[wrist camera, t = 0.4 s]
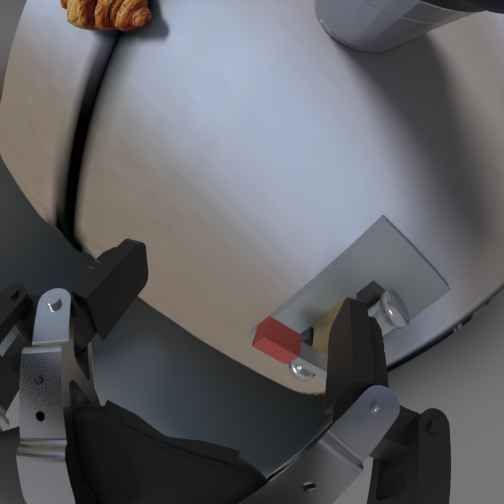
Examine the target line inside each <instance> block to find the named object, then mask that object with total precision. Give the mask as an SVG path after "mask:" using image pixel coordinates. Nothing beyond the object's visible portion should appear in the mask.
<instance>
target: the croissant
mask: <svg viewBox="0 0 504 504" xmlns="http://www.w3.org/2000/svg"><path fill="white" fill-rule="evenodd" d="M60 3H61V5H62V8H64V9H67V17H68V22H69V23H71V24H72V25H74V26H76V27H79V28H81V29H86V30H114V29H120V30H122V31H130V30H134V29H142V28H144V27H146V26H147V25H148V24H149V22H150V19H151V18H152V17H151V15H152V14H151V12H150V11H149V9H148V8H147V4H148V0H61V2H60Z"/></svg>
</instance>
